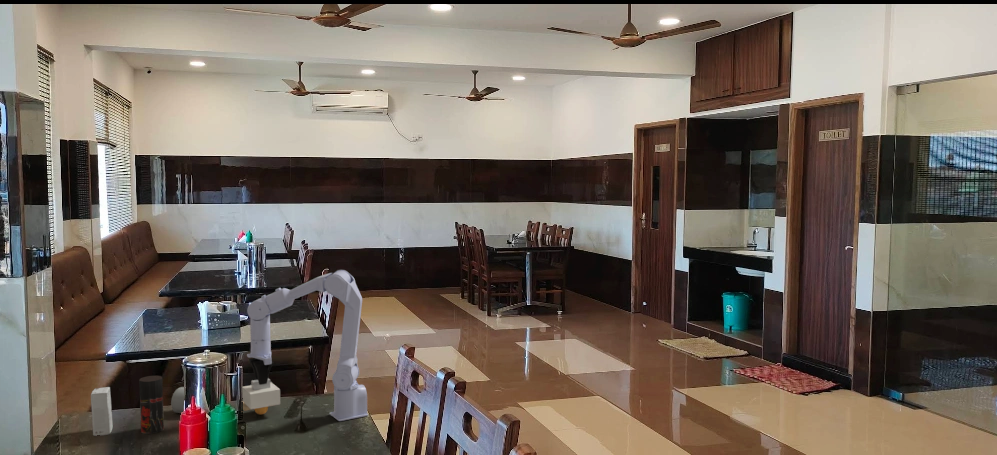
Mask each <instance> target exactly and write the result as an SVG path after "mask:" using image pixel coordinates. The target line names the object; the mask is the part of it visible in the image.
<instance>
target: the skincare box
mask: <svg viewBox="0 0 997 455" xmlns="http://www.w3.org/2000/svg"><path fill="white" fill-rule="evenodd" d="M90 404H91V406H90V407H91V422H92V436H95V437H98V436H97V435H100V436H106V435H110V434H111V432H112V431H113V425H114V424H113V412H112V397H111V387H110V386H107V387H106V386H105V387H97V388H94V389H93V390H92V391H91V394H90Z"/></svg>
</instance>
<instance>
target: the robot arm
mask: <svg viewBox="0 0 997 455" xmlns="http://www.w3.org/2000/svg"><path fill="white" fill-rule="evenodd" d="M316 291H318V292H320V293H325V292H326V293H328V294H329V295H330V296H333V297H335V298H337V299H338V301H340V302H341V303H342V304H343V305H344V310H343V311H344V313H343V321H342V332H341V341H340V342H341V343H340V348H339V349H340V350H339V357H338V361H337V364H336V369H335V372H334V373H333V375H332V376H331V377H332V378H331V379H332V380H331V381H332V384H333V398H334V399H333V406H334V407H333V410H334V411H331V412H329V416H331V417H333V419H335V420H337V421H338V422H343V421H348V420H352V419H358V418H363V417H368V416H369V414H368V393H367V388H366V387H365V385H364V384H359V383H358V381H357V379H358V377H359V375H360V368H359V366H358V361H359V359H358V357H357V352H358V344H359V337H360V336H359V335H360V334H359V333H360V325H361V324H360V323H361V316H362V307H363V297H362V295H361V292H360V290H359V288H358V285H357V283H356V280H355V278H354V276H353V275H352V274H351V273H349V272H348V271H347V270H345V269H337V270H336V271H334V272H329V273H325V274H323V275H320V276H317V277H314V278H313V279H310V280H309V281H307V282H305V283H302V284H300V285H298V286H296V287H294V288H292V289H288V288H285V287H283V288H281V287H278V288H276V289H275V291H274V292H272V293H270V294H267V295H266V294H264V295H262V296H261V298H257V299H256V300H253V301H252V302H251V303H250V304H249V305H248V307H247V310H246V312H247V315H248V317H249V318H250V326H249V327H250V330H249V331H250V353H247V354H246V357H247V358H249V359H248V361H249V364H250V365H251V368H252V371H253V374H254V378H255V379H254V380H258V382H259V384H260V385H262V384H267V380H268V378H269V375H270V371H271V369H272V367H273V365H274V361H273V360H272V350H271V349H272V348H271V347H272V344H271V342H272V341H271V338H272V337H271V314H275V313H278V312H280V311H282V310H284V309H286V308H289V307H291V306H293V304H294V301H295V299H299V298H300V297H303V296H306V295H308V294H311V293H314V292H316Z"/></svg>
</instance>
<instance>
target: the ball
mask: <svg viewBox="0 0 997 455" xmlns="http://www.w3.org/2000/svg"><path fill="white" fill-rule="evenodd" d="M268 409H269V407H262V408H256V409H253V410H254V412H255V414H257V415H261V416H262V415H264V414H266V413H267V412H268V411H269V410H268Z"/></svg>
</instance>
